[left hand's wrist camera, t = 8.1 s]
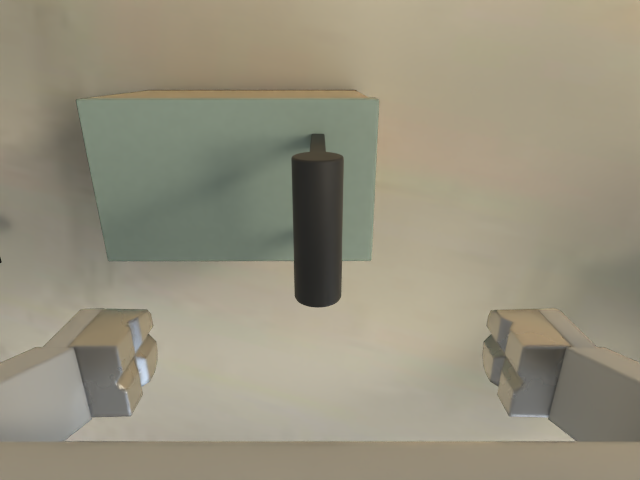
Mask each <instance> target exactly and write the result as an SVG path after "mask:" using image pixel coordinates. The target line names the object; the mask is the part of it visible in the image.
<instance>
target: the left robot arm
mask: <svg viewBox="0 0 640 480" xmlns="http://www.w3.org/2000/svg"><path fill="white" fill-rule="evenodd" d="M152 327H153V321H152V316H151V313H150V312H149V311H148V310H144V309H104V308H100V309H82V310H80V311H79V312H78V313H77V314H76V315H75V316H74V317H73V318H72V319H71V320H70V321H69V322H68V323H67V324H66V325H65V326H64V327H63V328H62V329H61V330H60V331H59V332H58V333H57V334H55V335H54V336H53V337H52V338H51V339H50V340H49V341H48V342H47V343H46V344H45V345H44V346H43V347H35V348H33V349H31V350H28V351H26V352H24V353H21V354H19V355H17V356H15V357H12V358H10V359H8V360H5V361H3V362H1V363H0V480H640V363H639V362H637V361H635V360H632V359H630V358H628V357H625V356H623V355H621V354H619V353H616V352H614V351H612V350H609V349H607V348H605V347H597V346H596V345H595V344H594V343H593V342H592V341H591V340H590V339H589V338H588V337H587V336H586V335H585V334H584V333H583V332H582V331H581V330H580V329H579V328H577V327H576V326H575V325H574V324H573V323H572V322H571V321H570V320H569V319H568V318H567V317H566V316H565V315H564V314H563V313H562V312H561V311H560V310H558V309H555V308H549V309H515V310H491V312H490V314H489V316H488V320H487V327H488V329H489V330H490V332H491V333H492V334H491V335H490V336H489V337H488V338H487V339H486V340H485V341H484V344H483V352H482V356H483V366H484V369H485V372H486V375H487V377H488V379H489V380H490V381H491V382H492V383H494V384H495V385H497V386H498V393H497V395H498V397H499V399H500V401H501V402H502V404H503V406H504V408H505V410H506V411H507V413H508V415H509V416H518V417H548V419H549V420H550V421H551V422H553V423H554V424H555V425H556V426H558V427H559V428H560V429H562V430H563V431H564V432H565V433H567V434H568V435H569V436H571V437H572V438H573V439H574V440H576V441H299V442H247V441H64V440H66V439H67V438H68V437H70V436H71V435H72V434H73V433H75V432H76V431H77V430H79V429H80V428H81V427H82V426H84V425H85V424H86V423H88V422H89V421H90V420H91V419H92V418H91V417H121V416H131V415H132V413H133V411H134V410H135V408H136V406H137V404H138V402H139V401H140V399H141V397H142V395H143V393H142V386H143V385H145V384H146V383H148V382H149V381H150V380H151V379H152V377H153V375H154V373H155V369H156V364H157V344H156V341H155V340H154V339H153V338H152V337H151V336H150V335H149V334H148V333H149V332H150V330H151V329H152Z"/></svg>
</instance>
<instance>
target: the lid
mask: <svg viewBox="0 0 640 480" xmlns="http://www.w3.org/2000/svg"><path fill="white" fill-rule="evenodd" d="M76 104H77V109H78V113H79V118H80V123H81V128H82V133H83V138H84V143H85V148H86V153H87V158H88V163H89V168H90V173H91V178H92V183H93V188H94V193H95V198H96V203H97V208H98V213H99V218H100V223H101V228H102V233H103V238H104V243H105V248H106V253H107V258H108V261H294V283H295V298H296V300H297V301H298V302H299V303H301V304H303V305H306V306H309V307H326V306H330V305H333V304H335V303H336V302H338V301H339V299H340V298H341V278H342V261H371V260H372V239H373V219H374V198H375V177H376V157H377V136H378V115H379V99H377V98H82V99H76Z"/></svg>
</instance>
